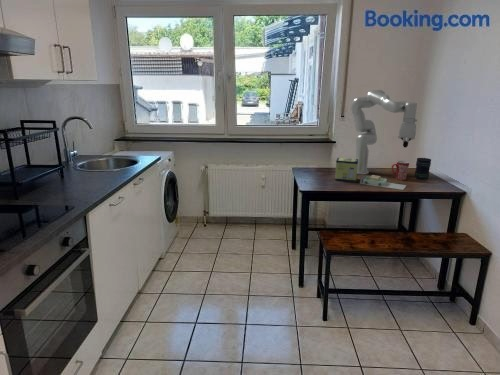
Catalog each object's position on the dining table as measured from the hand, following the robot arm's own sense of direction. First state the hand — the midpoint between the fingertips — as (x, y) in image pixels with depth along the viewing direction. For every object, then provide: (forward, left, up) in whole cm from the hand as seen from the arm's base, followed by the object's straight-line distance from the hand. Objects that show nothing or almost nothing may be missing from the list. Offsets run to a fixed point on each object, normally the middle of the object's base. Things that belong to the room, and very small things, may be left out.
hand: (405, 147), depth 237 cm
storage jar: (+10, +24, -27) cm, 38 cm away
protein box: (-37, -11, -27) cm, 47 cm away
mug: (-4, +12, -27) cm, 30 cm away
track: (-10, -10, -27) cm, 30 cm away
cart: (-16, -10, -27) cm, 32 cm away
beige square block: (-16, -10, -26) cm, 32 cm away
